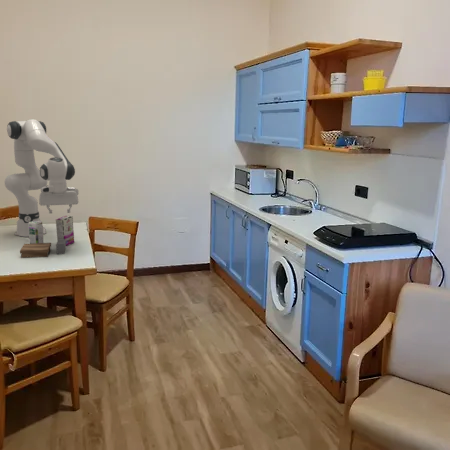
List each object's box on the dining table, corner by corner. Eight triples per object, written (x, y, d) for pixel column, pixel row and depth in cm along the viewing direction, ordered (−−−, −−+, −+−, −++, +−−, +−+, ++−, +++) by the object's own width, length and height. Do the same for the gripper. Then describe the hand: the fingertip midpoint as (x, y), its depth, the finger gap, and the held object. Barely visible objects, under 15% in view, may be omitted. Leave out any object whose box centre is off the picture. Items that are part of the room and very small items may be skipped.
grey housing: (58, 249, 269) (58, 239, 268) (66, 249, 270) (65, 239, 269) (56, 254, 260) (56, 244, 258) (64, 254, 261) (64, 243, 259)
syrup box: (29, 247, 273) (27, 222, 269) (35, 244, 278) (34, 220, 275) (37, 247, 271) (36, 223, 268) (44, 245, 277) (42, 221, 274)
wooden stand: (25, 250, 265) (24, 243, 264) (51, 249, 268) (50, 242, 267) (20, 257, 252) (19, 250, 251) (48, 256, 255) (47, 249, 254)
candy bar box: (66, 241, 285) (65, 215, 281) (74, 242, 284) (73, 215, 280) (56, 246, 274) (55, 219, 271) (64, 247, 273) (63, 219, 270)
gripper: (78, 186, 262) (79, 211, 265) (39, 187, 258) (41, 212, 261) (77, 188, 256) (79, 213, 259) (37, 189, 252) (39, 214, 255)
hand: (59, 212), depth 260 cm, fingers open, 8 cm apart
